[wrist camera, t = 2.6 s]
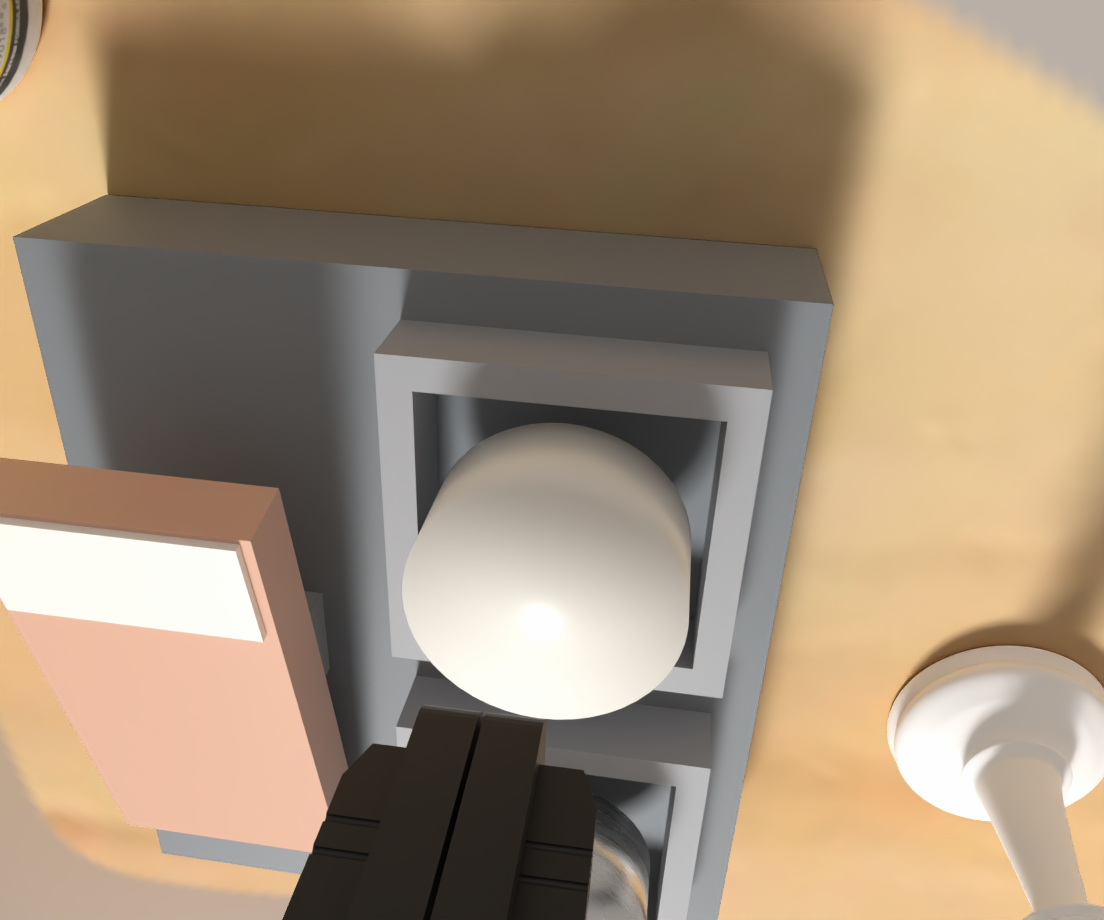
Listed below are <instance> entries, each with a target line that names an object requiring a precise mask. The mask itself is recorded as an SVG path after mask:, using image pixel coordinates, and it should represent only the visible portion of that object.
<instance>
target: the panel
mask: <svg viewBox="0 0 1104 920" xmlns="http://www.w3.org/2000/svg"><path fill="white" fill-rule="evenodd" d="M13 240H14V244H15V248H16V252H17V256H18V260H19V264H20V269H21V273H22V277H23V281H24V285H25V289H26V293H27V297H28V302H29V306H30V310H31V314H32V318H33V322H34V326H35V330H36V334H37V339H38V343H39V347H40V351H41V355H42V359H43V363H44V367H45V372H46V376H47V380H48V384H49V388H50V392H51V396H52V400H53V405H54V409H55V413H56V417H57V421H58V425H59V429H60V433H61V438H62V442H63V446H64V450H65V454H66V458H67V462H68V465H72V466H81V467H90V468H99V469H108V470H118V471H127V472H136V473H145V474H154V475H163V476H173V477H182V478H191V479H200V480H209V481H219V482H228V483H237V484H246V485H255V486H264V487H274V488H279V491H280V495H281V499H282V503H283V507H284V511H285V515H286V519H287V523H288V527H289V531H290V535H291V539H292V543H293V547H294V551H295V555H296V559H297V563H298V568H299V572H300V576H301V580H302V584H303V588H304V592H305V596H306V600H307V604H308V608H309V612H310V616H311V620H312V624H313V628H314V632H315V636H316V640H317V644H318V648H319V652H320V656H321V660H322V664H323V668H324V672H325V676H326V680H327V684H328V688H329V692H330V696H331V700H332V704H333V709H334V713H335V717H336V721H337V725H338V729H339V733H340V737H341V741H342V745H343V749H344V753H345V757H346V761H347V765H348V768H349V767H350V766H351V765H352V764H353V763H354V762H355V761H356V760H357V759H358V758H359V757H360V756H361V755H362V754H363V753H364V752H365V751H366V750H367V749H368V748H369V747H370V746H371V745H372V744H373V743H374V744H382V745H390V746H398V747H405V748H406V746H407V743H408V741H409V738H410V735H411V732H412V729H413V726H414V723H415V720H416V718H417V715H418V712H419V710H420V708H421V707H422V705H424V704H426V705H434V706H442V707H450V708H458V709H466V710H474V711H482V712H483V714H484V716H485V714H486V712H493V713H501V714H509V715H517V716H524V715H519V714H516V713H512V712H509V711H505V710H502V709H500V708H497V707H495V706H492V705H490V704H487V703H485V702H483V701H481V700H479V699H477V698H475V697H473V696H472V695H470V694H469V693H467V692H465V691H464V690H462V689H461V688H459V687H458V686H456V685H455V684H454V683H453V682H451V681H450V680H449V679H448V678H446V677H445V676H444V675H443V674H442V673H441V672H440V671H439V670H438V669H437V668H436V667H435V666H434V665H433V664H432V663H431V661H430V660H429V659H428V658H427V656H426V655H425V654H424V653H423V651H422V650H421V648H420V646H419V645H418V643H417V641H416V640H415V638H414V636H413V634H412V631H411V629H410V627H409V625H408V622H407V618H406V615H405V611H404V605H403V598H402V580H403V574H404V569H405V564H406V562H407V559H408V556H409V554H410V551H411V549H412V547H413V545H414V543H415V541H416V538H417V536H418V534H419V532H420V530H421V528H422V526H423V524H424V522H425V520H426V518H427V515H428V513H429V511H430V509H431V507H432V505H433V503H434V501H435V499H436V497H437V495H438V493H439V490H440V488H441V486H442V484H443V482H444V481H445V479H446V477H447V475H448V474H449V472H450V470H451V469H452V468H453V467H454V465H455V464H456V463H457V462H458V460H459V459H460V458H461V457H462V456H463V455H465V454H466V453H467V452H468V451H469V450H470V449H471V448H473V447H474V446H476V445H477V444H479V443H480V442H481V441H483V440H485V439H487V438H489V437H491V436H493V435H495V434H497V433H499V432H502V431H505V430H508V429H511V428H514V427H519V426H524V425H528V424H537V423H568V424H574V425H580V426H586V427H589V428H593V429H596V430H600V431H603V432H605V433H608V434H610V435H613V436H615V437H618V438H620V439H621V440H623V441H625V442H627V443H629V444H630V445H632V446H634V447H635V448H637V449H638V450H640V451H641V452H642V453H644V454H645V455H646V456H648V457H649V458H650V459H651V460H652V461H653V462H654V463H655V464H657V465H658V466H659V467H660V468H661V469H662V471H663V472H664V473H665V474H666V475H667V477H668V478H669V479H670V480H671V482H672V483H673V485H674V486H675V488H676V490H677V491H678V493H679V495H680V497H681V499H682V501H683V504H684V506H685V508H686V511H687V515H688V518H689V522H690V529H691V538H692V540H691V571H690V601H689V625H688V632H687V637H686V641H685V645H684V647H683V650H682V652H681V655H680V657H679V659H678V661H677V662H676V664H675V665H674V667H673V669H672V670H671V672H670V673H669V674H668V675H667V676H666V677H665V679H664V680H663V681H662V682H661V683H660V684H659V685H658V686H657V687H655V688H654V689H653V690H652V691H651V692H650V693H648V694H647V695H645V696H644V697H642V698H641V699H639V700H638V701H636V702H634V703H632V704H630V705H628V706H626V707H624V708H621V709H618V710H616V711H613V712H610V713H607V714H603V715H598V716H594V717H589V718H581V719H564V720H555V719H546V745H545V765H548V766H556V767H564V768H571V769H579V770H584V773H585V776H586V778H587V781H588V784H589V787H590V789H591V792H592V793H594V794H596V795H598V796H600V797H602V798H604V799H605V800H607V801H608V802H610V803H612V804H613V805H615V806H616V807H617V808H618V809H620V810H621V811H622V812H623V813H625V814H626V815H627V816H628V817H629V818H630V819H631V821H632V822H633V823H634V824H635V825H636V827H637V828H638V829H639V831H640V832H641V834H642V836H643V838H644V839H645V842H646V844H647V847H648V850H649V856H650V876H649V891H648V906H647V920H718V915H719V909H720V904H721V899H722V893H723V888H724V883H725V878H726V872H727V867H728V862H729V856H730V851H731V846H732V840H733V835H734V830H735V824H736V819H737V814H738V809H739V803H740V798H741V793H742V787H743V782H744V777H745V771H746V766H747V761H748V756H749V750H750V745H751V740H752V734H753V729H754V724H755V718H756V713H757V708H758V703H759V697H760V692H761V687H762V681H763V676H764V671H765V665H766V660H767V655H768V650H769V644H770V639H771V634H772V628H773V623H774V618H775V612H776V607H777V602H778V597H779V591H780V586H781V581H782V575H783V570H784V565H785V559H786V554H787V549H788V544H789V538H790V533H791V528H792V522H793V517H794V512H795V506H796V501H797V496H798V491H799V485H800V480H801V475H802V469H803V464H804V459H805V453H806V448H807V443H808V438H809V432H810V427H811V422H812V416H813V411H814V406H815V400H816V395H817V390H818V384H819V379H820V374H821V369H822V363H823V358H824V353H825V347H826V342H827V337H828V331H829V326H830V321H831V316H832V310H833V305H834V304H833V301H832V298H831V295H830V291H829V288H828V285H827V282H826V279H825V276H824V273H823V269H822V266H821V263H820V260H819V257H818V254H817V251H816V249H811V248H797V247H784V246H771V245H758V244H745V243H732V242H719V241H706V240H693V239H680V238H666V237H653V236H640V235H627V234H614V233H601V232H588V231H575V230H562V229H549V228H536V227H522V226H509V225H496V224H483V223H470V222H457V221H444V220H431V219H418V218H405V217H391V216H378V215H365V214H352V213H339V212H326V211H313V210H300V209H287V208H274V207H261V206H247V205H234V204H221V203H208V202H195V201H182V200H169V199H156V198H143V197H130V196H117V195H105V196H102V197H100V198H98V199H96V200H93V201H91V202H89V203H87V204H85V205H82V206H80V207H78V208H76V209H73V210H71V211H69V212H67V213H65V214H62V215H60V216H58V217H56V218H53V219H51V220H49V221H47V222H45V223H42V224H40V225H38V226H36V227H33V228H31V229H29V230H27V231H25V232H22V233H20V234H18V235H16V236H13ZM525 717H529V716H525ZM533 718H535V717H533ZM541 719H542V718H541ZM157 833H158V838H159V842H160V846H161V850H162V853H165V854H172V855H178V856H185V857H191V858H198V859H204V860H211V861H217V862H224V863H230V864H237V865H243V866H250V867H256V868H263V869H269V870H276V871H283V872H289V873H296V874H301V873H302V871H303V868H304V866H305V864H306V861H307V859H308V856H309V854H311V853H312V852H305V851H298V850H292V849H285V848H278V847H272V846H265V845H259V844H252V843H245V842H239V841H232V840H225V839H219V838H212V837H205V836H199V835H192V834H186V833H179V832H172V831H166V830H159V829H157Z"/></svg>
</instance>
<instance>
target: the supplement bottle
mask: <svg viewBox="0 0 1104 920" xmlns="http://www.w3.org/2000/svg"><path fill="white" fill-rule="evenodd" d="M41 26H42V0H0V100H2V99H3V98H5V97H6V96H7V95H8V94H9V93H10V92H11V91H12V90H13V89H14V88H15V87H16V86H17V85H18V83H19V82H20V81H21V80H22V78H23V77H24V76H25V74H26V72H27V70H28V68H29V66H30V64H31V62H32V60H33V57H34V54H35V52H36V49H37V46H38V42H39V39H40V33H41Z"/></svg>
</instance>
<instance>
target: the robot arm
mask: <svg viewBox="0 0 1104 920" xmlns="http://www.w3.org/2000/svg"><path fill="white" fill-rule="evenodd" d="M545 745H546V719H541V718H533V717H525V716H517V715H509V714H501V713H493V712H486V714H485V716H484V714H483V712H482V711H474V710H466V709H458V708H450V707H442V706H434V705H426V704H424V705H422V707H421V708H420V710H419V712H418V715H417V718H416V720H415V723H414V726H413V729H412V732H411V735H410V738H409V741H408V743H407V746H406V748H405V747H398V746H390V745H382V744H374V743H373V744H372V745H371V746H370V747H369V748H368V749H367V750H366V751H365V752H364V753H363V754H362V755H361V756H360V757H359V758H358V759H357V760H356V761H355V762H354V763H353V764H352V765H351V766H350V767H349V768H348V769H347V770H346V771H345V772H344V773H343V774H342V776H341V779H340V781H339V783H338V786H337V788H336V791H335V793H334V796H333V798H332V800H331V803H330V805H329V808H328V810H327V813H326V819H325V821H323V822H322V825H321V827H320V830H319V832H318V834H317V837H316V839H315V842H314V844H313V850H312V853H311V854H309V856H308V859H307V861H306V864H305V866H304V868H303V871H302V873H301V876H300V878H299V881H298V883H297V885H296V888H295V890H294V893H293V895H292V898H291V900H290V902H289V905H288V907H287V910H286V912H285V915H284V917H283V919H282V920H587V912H588V902H589V893H590V883H591V872H592V861H593V850H594V839H595V828H596V817H597V806H596V803H595V800H594V798H593V795H592V792H591V789H590V787H589V784H588V781H587V778H586V776H585V773H584V770H579V769H571V768H564V767H556V766H548V765H545Z"/></svg>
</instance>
